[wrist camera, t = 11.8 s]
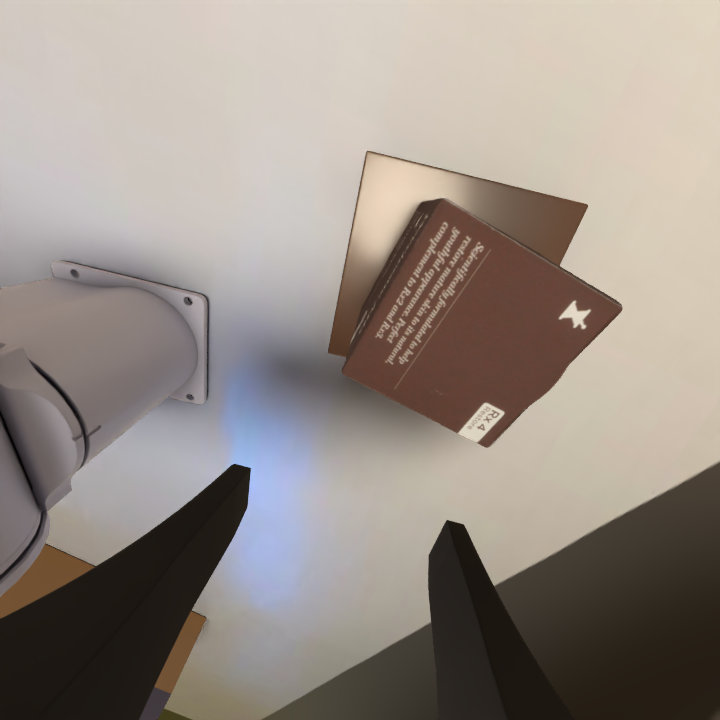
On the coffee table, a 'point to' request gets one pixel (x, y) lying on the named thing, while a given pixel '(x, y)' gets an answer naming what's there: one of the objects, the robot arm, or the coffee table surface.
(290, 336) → the coffee table surface
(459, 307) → the box
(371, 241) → the copper block
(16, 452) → the robot arm
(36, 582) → the toy building blocks
